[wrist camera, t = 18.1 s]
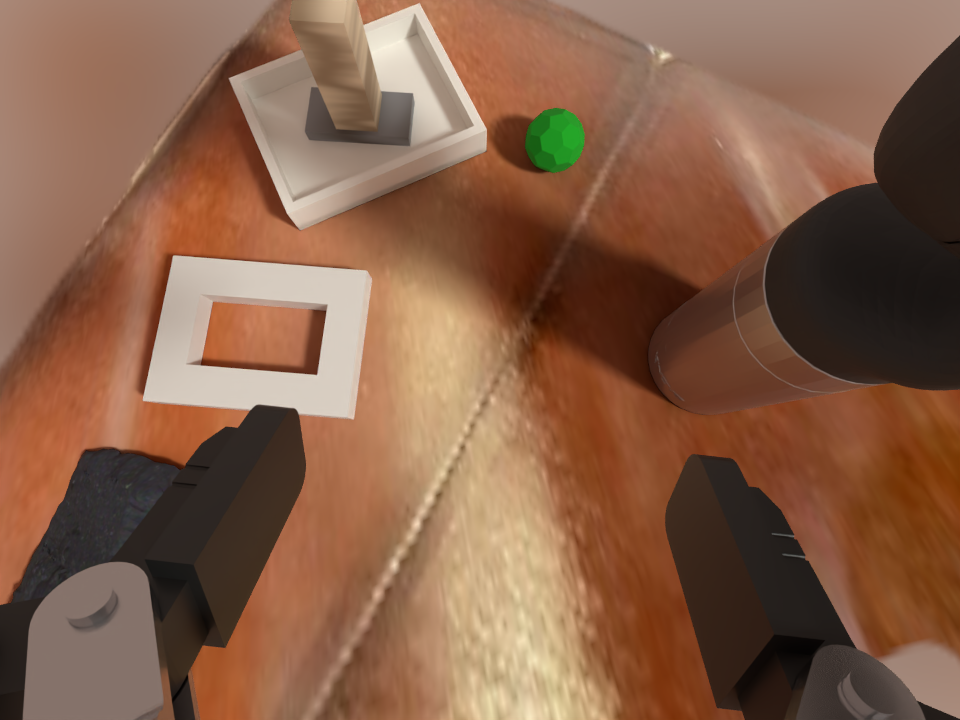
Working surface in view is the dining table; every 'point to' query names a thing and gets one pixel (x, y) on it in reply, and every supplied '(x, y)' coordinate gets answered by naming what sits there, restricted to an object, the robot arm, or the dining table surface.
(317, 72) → the wooden post on base
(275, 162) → the tray
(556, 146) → the polyhedron
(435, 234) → the dining table surface
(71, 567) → the dark slate chunk
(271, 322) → the dining table surface
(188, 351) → the slot plate
